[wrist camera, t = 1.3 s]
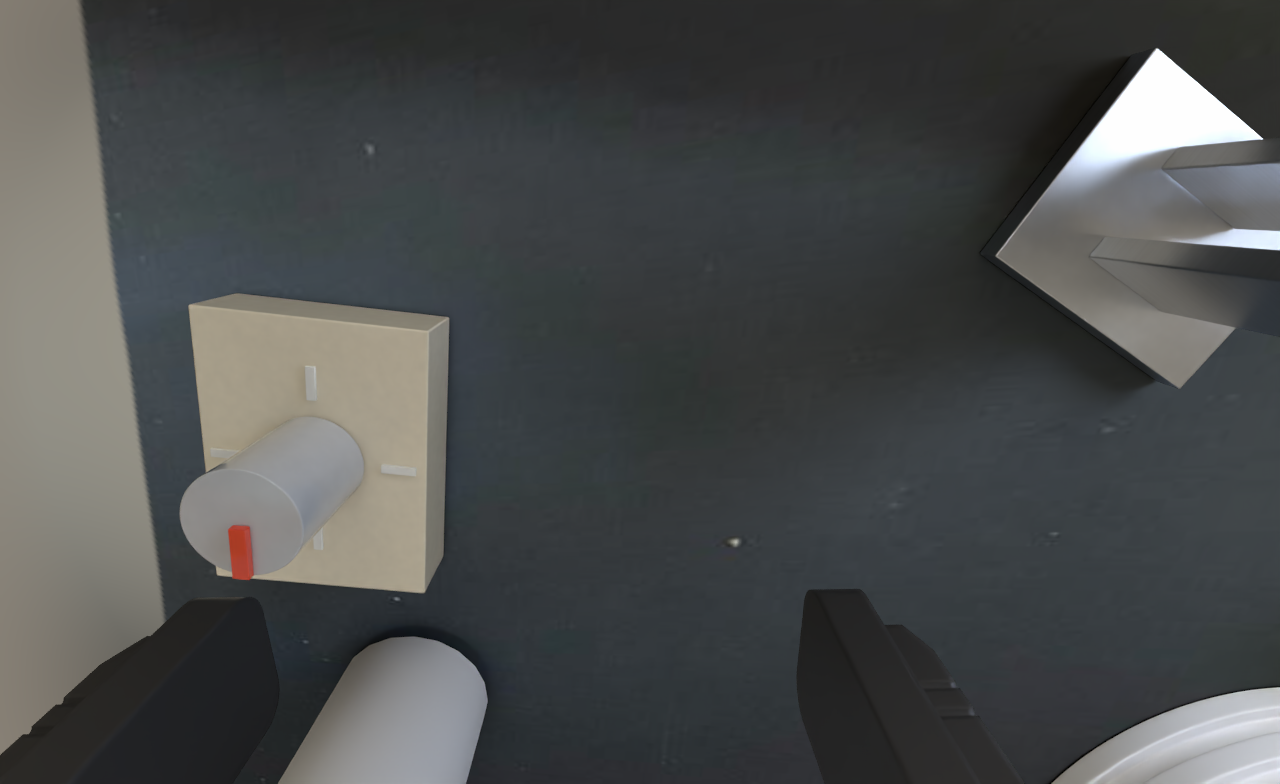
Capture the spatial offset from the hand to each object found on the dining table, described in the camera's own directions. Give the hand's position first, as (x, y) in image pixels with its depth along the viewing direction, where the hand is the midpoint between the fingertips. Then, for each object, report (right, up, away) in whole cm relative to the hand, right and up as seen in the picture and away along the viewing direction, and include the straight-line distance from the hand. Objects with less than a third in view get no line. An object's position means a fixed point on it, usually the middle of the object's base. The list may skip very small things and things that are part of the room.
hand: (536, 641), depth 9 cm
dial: (-12, +1, +16) cm, 20 cm away
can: (-10, -12, +23) cm, 28 cm away
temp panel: (-12, +2, +19) cm, 22 cm away
